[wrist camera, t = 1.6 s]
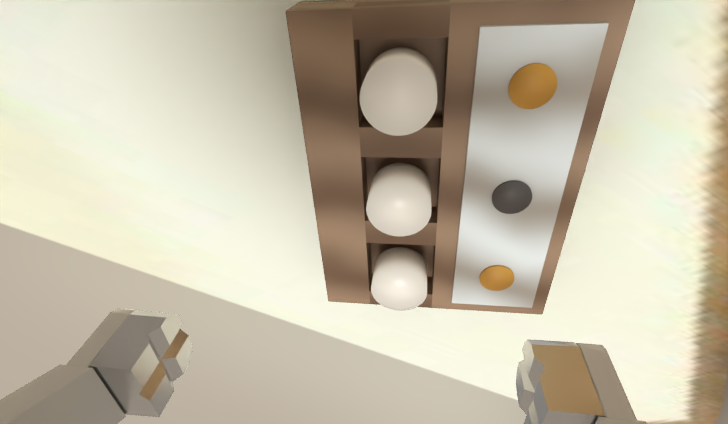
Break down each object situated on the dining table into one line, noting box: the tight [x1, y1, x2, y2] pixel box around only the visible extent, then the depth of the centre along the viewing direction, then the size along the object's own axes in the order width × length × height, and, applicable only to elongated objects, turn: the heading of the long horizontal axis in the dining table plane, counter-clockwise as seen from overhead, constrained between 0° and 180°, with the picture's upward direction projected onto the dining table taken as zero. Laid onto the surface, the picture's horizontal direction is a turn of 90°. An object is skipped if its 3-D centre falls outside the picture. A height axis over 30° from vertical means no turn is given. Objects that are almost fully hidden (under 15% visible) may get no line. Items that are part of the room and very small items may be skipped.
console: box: [286, 0, 635, 314], centre depth 28 cm, size 22×17×4 cm
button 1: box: [371, 247, 427, 310], centre depth 30 cm, size 4×4×2 cm
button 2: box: [360, 47, 437, 136], centre depth 22 cm, size 4×4×2 cm
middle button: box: [366, 163, 431, 236], centre depth 26 cm, size 4×4×2 cm
